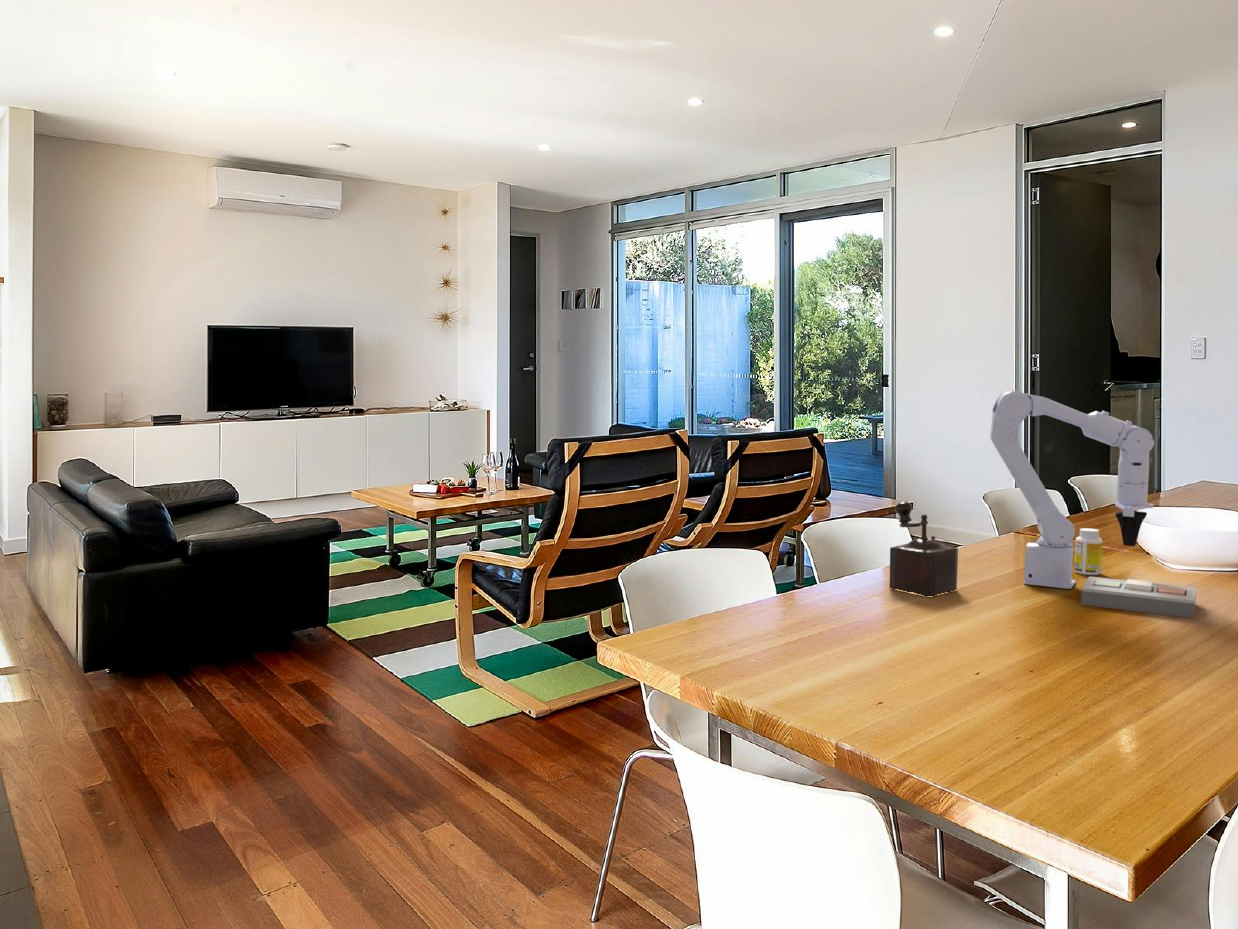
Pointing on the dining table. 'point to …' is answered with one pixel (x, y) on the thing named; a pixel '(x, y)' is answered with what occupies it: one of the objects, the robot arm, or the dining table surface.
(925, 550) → the manual coffee grinder
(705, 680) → the dining table surface
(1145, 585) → the cream key
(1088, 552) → the supplement bottle
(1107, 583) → the sage key
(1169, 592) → the terracotta key
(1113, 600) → the keypad base
